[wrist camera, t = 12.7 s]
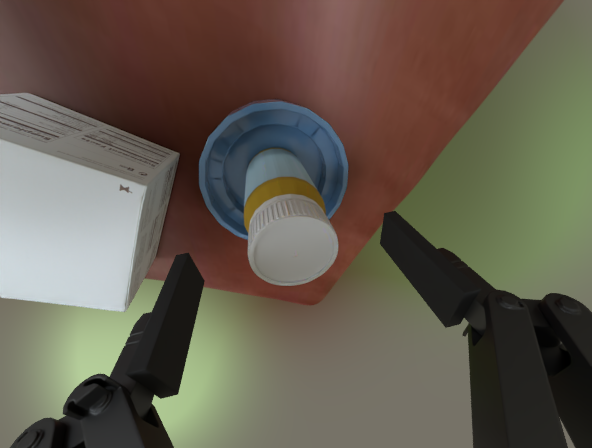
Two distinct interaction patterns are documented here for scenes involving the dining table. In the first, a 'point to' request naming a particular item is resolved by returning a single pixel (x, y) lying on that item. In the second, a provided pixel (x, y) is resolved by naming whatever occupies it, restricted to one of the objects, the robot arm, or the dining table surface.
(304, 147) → the bowl
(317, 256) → the bottle
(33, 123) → the supplement box
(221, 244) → the dining table surface
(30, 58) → the dining table surface
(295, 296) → the dining table surface
